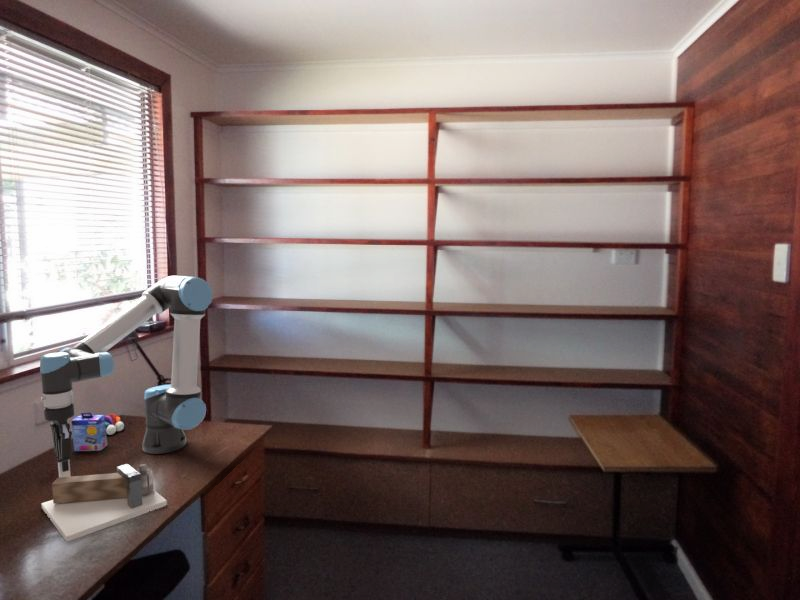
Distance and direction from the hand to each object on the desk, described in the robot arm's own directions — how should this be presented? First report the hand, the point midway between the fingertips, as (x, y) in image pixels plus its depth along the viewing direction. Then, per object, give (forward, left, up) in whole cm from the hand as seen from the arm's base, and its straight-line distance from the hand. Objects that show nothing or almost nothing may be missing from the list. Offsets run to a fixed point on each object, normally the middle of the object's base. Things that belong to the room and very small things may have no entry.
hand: (65, 480), depth 162 cm
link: (-7, +12, -3) cm, 15 cm away
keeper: (-12, +20, -5) cm, 24 cm away
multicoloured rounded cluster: (-28, -49, -6) cm, 56 cm away
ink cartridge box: (-17, -36, -6) cm, 40 cm away
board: (-6, +15, -5) cm, 17 cm away
